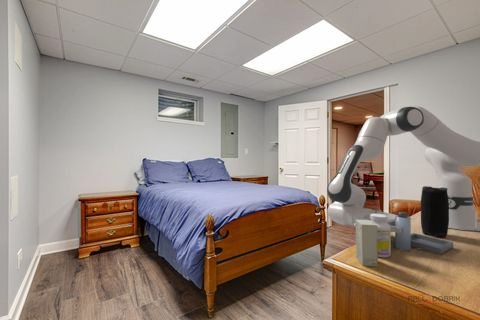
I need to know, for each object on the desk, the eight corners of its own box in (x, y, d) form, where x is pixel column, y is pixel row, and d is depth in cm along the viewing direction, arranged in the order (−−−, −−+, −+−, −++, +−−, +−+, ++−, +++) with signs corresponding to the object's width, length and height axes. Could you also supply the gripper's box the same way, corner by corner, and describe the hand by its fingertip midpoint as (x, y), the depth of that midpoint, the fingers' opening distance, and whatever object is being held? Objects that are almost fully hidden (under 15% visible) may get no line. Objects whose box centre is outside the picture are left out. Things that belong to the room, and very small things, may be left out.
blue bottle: (398, 245, 81) (398, 210, 81) (412, 249, 78) (412, 213, 78) (392, 247, 79) (392, 212, 79) (407, 251, 75) (407, 214, 75)
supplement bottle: (370, 248, 78) (370, 211, 78) (393, 254, 74) (393, 215, 73) (363, 253, 74) (364, 215, 74) (387, 260, 69) (387, 219, 69)
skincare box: (378, 267, 65) (378, 225, 65) (361, 265, 66) (361, 224, 66) (370, 257, 71) (370, 219, 71) (355, 256, 72) (355, 218, 72)
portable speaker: (451, 235, 91) (451, 187, 91) (444, 240, 86) (445, 189, 86) (424, 229, 98) (425, 185, 98) (417, 234, 93) (417, 187, 93)
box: (413, 237, 89) (413, 232, 89) (453, 248, 78) (453, 242, 78) (399, 243, 83) (399, 237, 83) (440, 255, 73) (440, 248, 73)
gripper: (350, 215, 84) (390, 224, 72) (379, 208, 94) (418, 216, 83) (350, 232, 84) (390, 244, 72) (379, 223, 94) (418, 233, 83)
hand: (405, 229), depth 77 cm, fingers closed on blue bottle, 4 cm apart
